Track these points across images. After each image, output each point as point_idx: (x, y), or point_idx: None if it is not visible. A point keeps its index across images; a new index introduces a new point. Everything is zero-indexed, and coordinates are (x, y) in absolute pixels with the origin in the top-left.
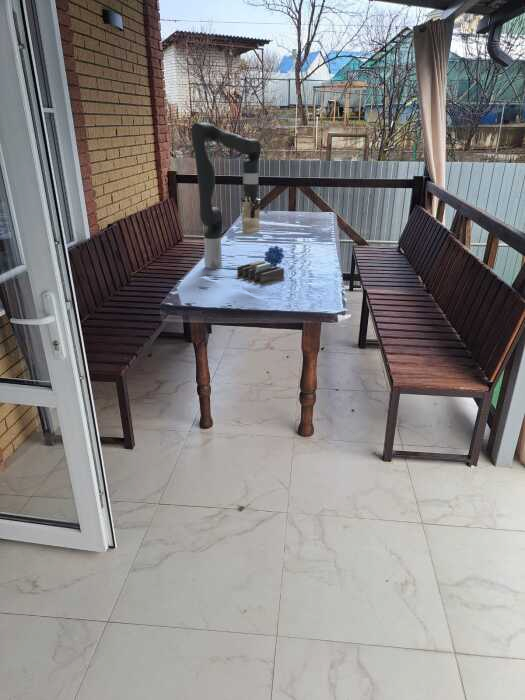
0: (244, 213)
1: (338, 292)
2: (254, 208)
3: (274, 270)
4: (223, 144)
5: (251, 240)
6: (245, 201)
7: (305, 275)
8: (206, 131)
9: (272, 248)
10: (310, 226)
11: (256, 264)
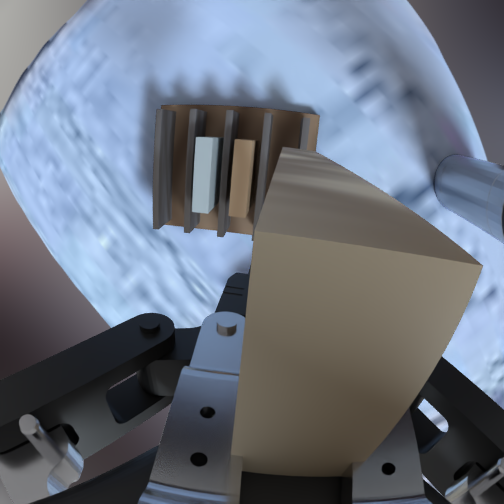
0: (286, 162)
1: (37, 230)
2: (123, 329)
3: (156, 182)
4: None
5: None
6: (451, 460)
7: (161, 294)
8: None
9: None
10: None
11: (233, 163)
